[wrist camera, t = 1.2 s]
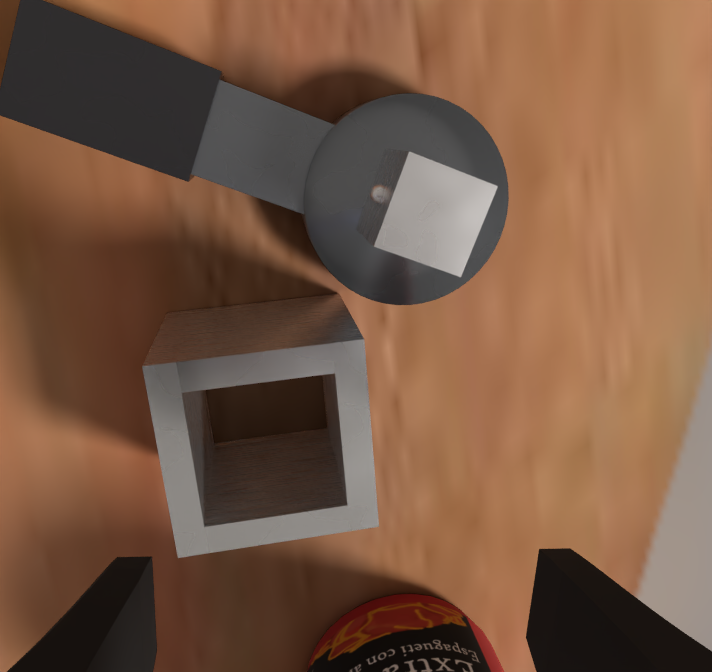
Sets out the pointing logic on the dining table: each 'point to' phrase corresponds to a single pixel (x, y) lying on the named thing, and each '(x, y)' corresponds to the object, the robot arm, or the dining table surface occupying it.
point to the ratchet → (276, 151)
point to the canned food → (404, 639)
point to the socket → (268, 453)
